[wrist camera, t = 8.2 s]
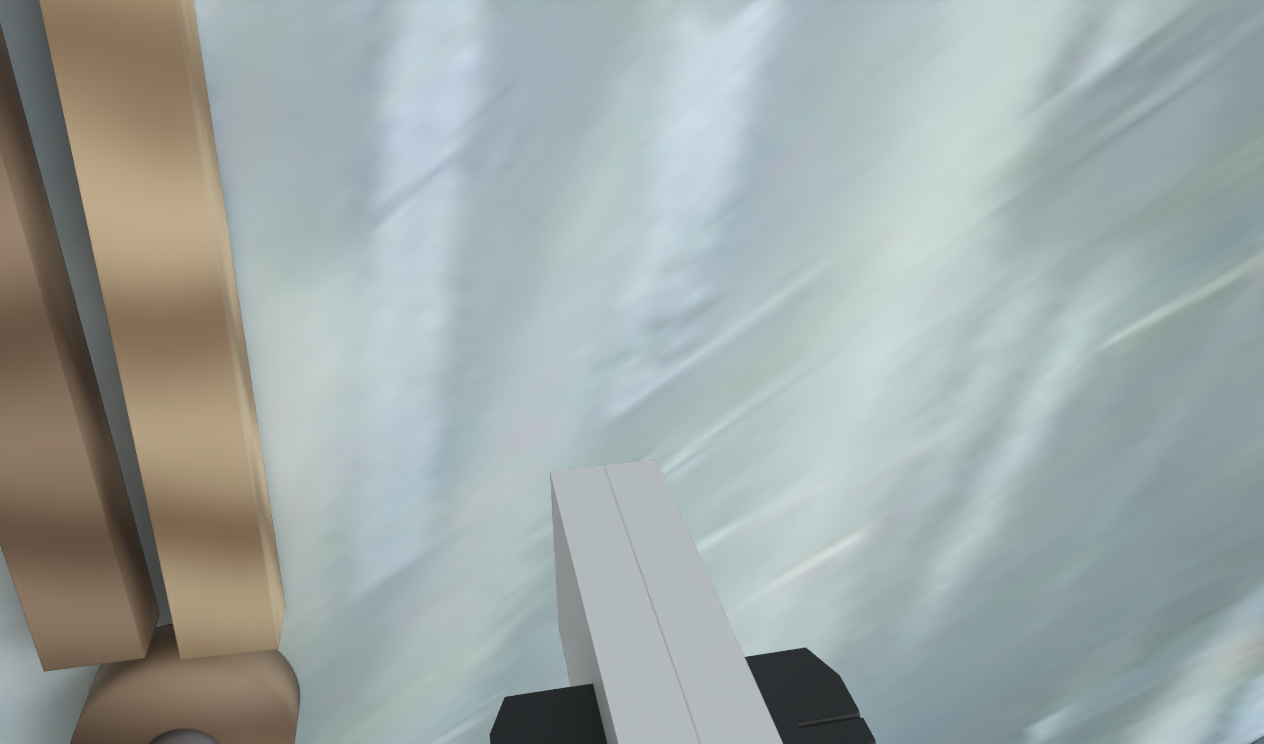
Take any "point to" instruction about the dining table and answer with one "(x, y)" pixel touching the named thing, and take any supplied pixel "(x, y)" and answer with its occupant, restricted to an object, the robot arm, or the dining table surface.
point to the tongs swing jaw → (172, 309)
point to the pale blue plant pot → (1260, 741)
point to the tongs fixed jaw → (94, 509)
